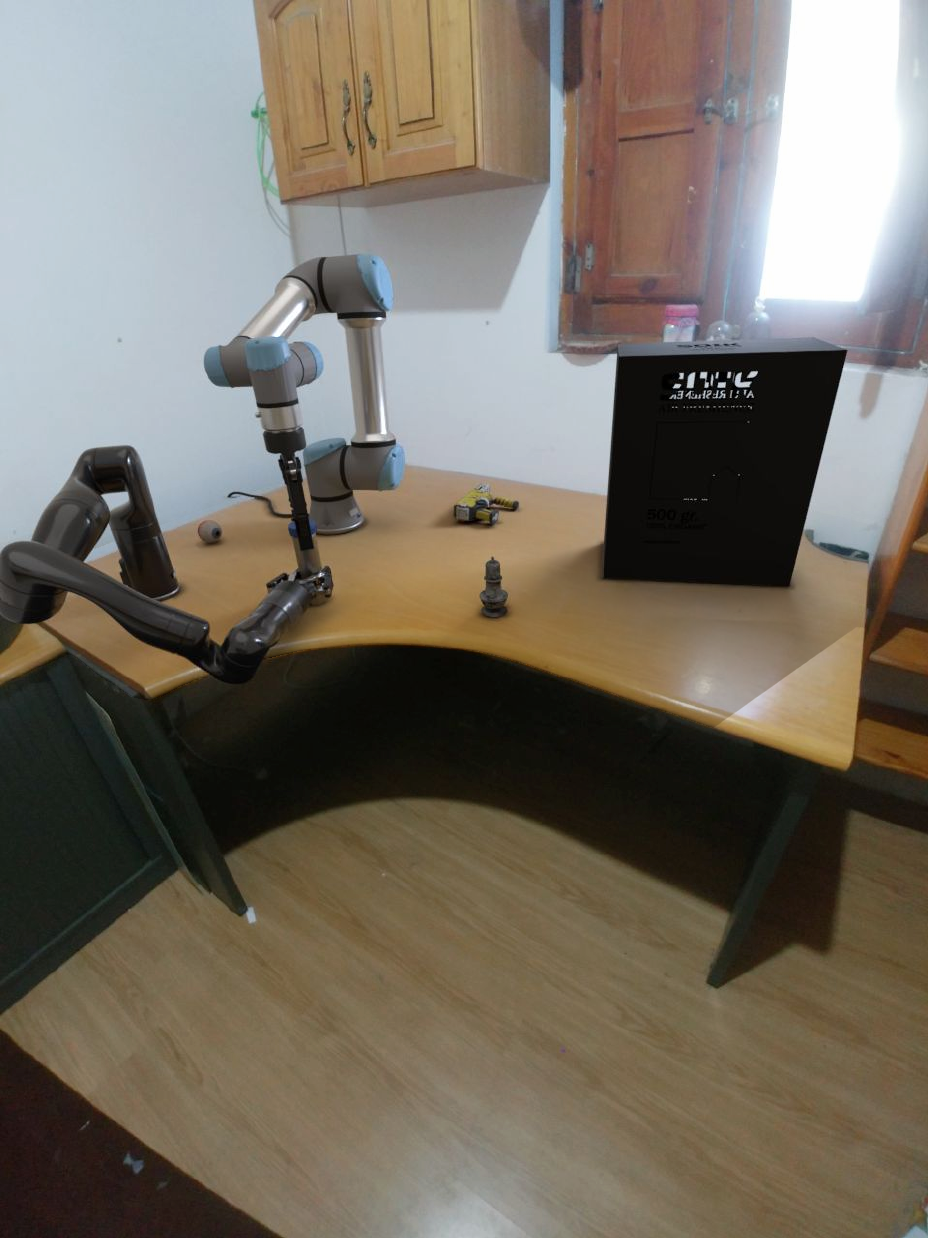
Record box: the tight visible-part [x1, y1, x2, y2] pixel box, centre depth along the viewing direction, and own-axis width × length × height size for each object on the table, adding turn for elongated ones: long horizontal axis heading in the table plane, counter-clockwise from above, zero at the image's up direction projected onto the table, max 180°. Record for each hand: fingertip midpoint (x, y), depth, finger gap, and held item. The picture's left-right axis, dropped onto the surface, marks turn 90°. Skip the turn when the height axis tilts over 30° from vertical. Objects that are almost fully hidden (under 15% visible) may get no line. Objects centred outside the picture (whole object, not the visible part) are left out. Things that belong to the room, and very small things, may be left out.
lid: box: [287, 519, 317, 538], centre depth 122 cm, size 6×6×2 cm
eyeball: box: [197, 519, 223, 544], centre depth 161 cm, size 6×6×6 cm
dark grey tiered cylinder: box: [478, 555, 509, 618], centre depth 119 cm, size 6×6×12 cm
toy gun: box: [452, 482, 520, 526], centre depth 172 cm, size 5×24×15 cm
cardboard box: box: [602, 336, 849, 588], centre depth 126 cm, size 38×20×45 cm, turn 78°
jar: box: [291, 533, 329, 607], centre depth 126 cm, size 5×5×17 cm
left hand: (316, 569), depth 130 cm, fingers closed on jar, 4 cm apart
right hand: (305, 543), depth 124 cm, fingers closed on lid, 5 cm apart
